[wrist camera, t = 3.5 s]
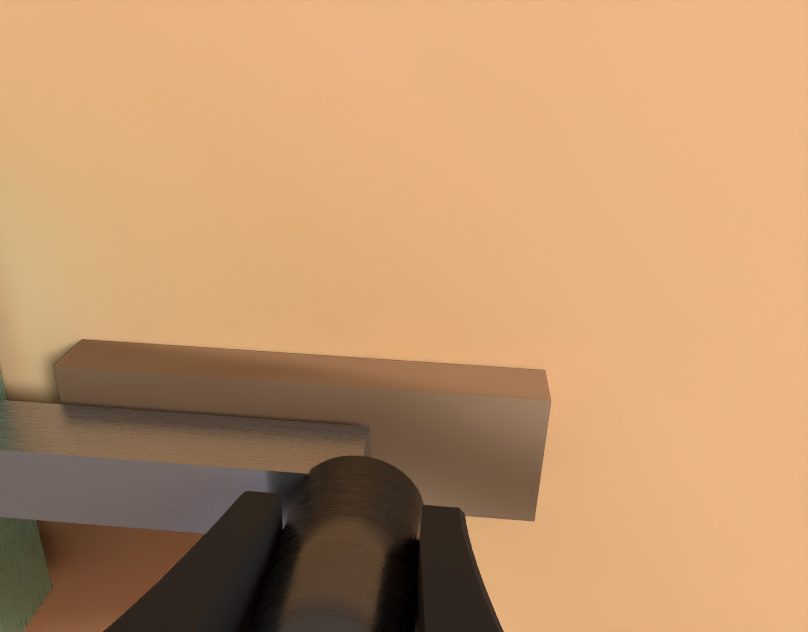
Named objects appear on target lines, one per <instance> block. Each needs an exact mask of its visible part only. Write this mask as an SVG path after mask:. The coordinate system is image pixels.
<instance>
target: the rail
mask: <svg viewBox="0 0 808 632" xmlns="http://www.w3.org/2000/svg"><path fill="white" fill-rule="evenodd" d="M53 367H54V372H55V377H56V382H57V387H58V391H59V396H60V401H61V404H65V405H79V406H92V407H106V408H120V409H134V410H148V411H161V412H175V413H189V414H203V415H216V416H230V417H244V418H258V419H272V420H285V421H299V422H313V423H327V424H340V425H354V426H368V427H370V449H369V457H371V458H375V459H379V460H382V461H384V462H387V463H389V464H391V465H393V466H394V467H396V468H398V469H399V470H401V471H402V472H403V473H404V474H406V475H407V476H408V477H409V478H410V479H411V480H412V481H413V483H414V484H415V485H416V487H417V488H418V490H419V492H420V494H421V497H422V500H423V504H424V505H433V506H446V507H459V508H460V509H461V510H462V511H463V512H464V513H465V516H473V517H486V518H498V519H511V520H523V521H534V520H535V513H536V505H537V498H538V491H539V484H540V477H541V470H542V463H543V456H544V449H545V441H546V434H547V427H548V420H549V413H550V406H551V397H550V392H549V387H548V382H547V377H546V372H545V370H533V369H518V368H503V367H488V366H473V365H458V364H443V363H428V362H413V361H398V360H383V359H368V358H353V357H338V356H323V355H308V354H293V353H278V352H263V351H248V350H233V349H218V348H203V347H188V346H173V345H158V344H143V343H128V342H114V341H99V340H84V339H82V340H81V341H80V342H79V343H78V344H77V345H76V346H75V347H74V348H73V349H71V350H70V351H69V352H68V353H67V354H66V355H65V356H64V357H63V358H62V359H61V360H60V361H58V362H57V363H56V364H55V365H54V366H53Z"/></svg>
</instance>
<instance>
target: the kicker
mask: <svg viewBox="0 0 808 632" xmlns="http://www.w3.org/2000/svg"><path fill="white" fill-rule="evenodd" d="M369 449H370V427H368V426H354V425H340V424H327V423H313V422H299V421H285V420H272V419H258V418H244V417H230V416H216V415H203V414H189V413H175V412H161V411H148V410H134V409H120V408H106V407H92V406H79V405H65V404H51V403H37V402H24V401H10V400H7V398H6V394H5V390H4V386H3V382H2V378H1V374H0V632H23V631H24V629H25V628H26V626H27V625H28V623H29V622H30V620H31V619H32V618H33V616H34V615H35V613H36V612H37V610H38V609H39V607H40V606H41V604H42V603H43V602H44V600H45V599H46V597H47V596H48V594H49V593H50V591H51V590H52V584H51V579H50V575H49V571H48V567H47V563H46V559H45V555H44V551H43V546H42V542H41V538H40V534H39V530H38V526H37V522H36V520H42V521H54V522H66V523H78V524H90V525H102V526H114V527H126V528H138V529H151V530H163V531H175V532H187V533H199V534H206V533H207V532H208V531H209V529H210V528H211V527H212V526H213V525H214V524H215V523H216V522H217V521H218V520H219V519H220V517H221V516H222V515H223V514H224V513H225V512H226V511H227V510H228V509H229V507H230V506H231V505H232V504H233V503H234V502H235V501H236V500H237V498H238V497H239V496H240V495H241V494H243V493H244V492H245V491H256V492H269V493H281V504H282V522H283V531H282V534H281V537H280V540H279V543H278V546H277V549H276V552H275V555H274V558H273V561H272V564H271V566H270V569H269V572H268V575H267V578H266V581H265V584H264V587H263V590H262V593H261V596H260V599H259V602H258V605H257V608H256V611H255V614H254V617H253V620H252V623H251V626H250V629H249V631H248V632H415V626H416V613H417V578H418V559H419V540H420V527H421V517H422V508H423V505H424V504H423V500H422V497H421V494H420V492H419V490H418V488H417V487H416V485H415V484H414V483H413V481H412V480H411V479H410V478H409V477H408V476H407V475H406V474H404V473H403V472H402V471H401V470H399V469H398V468H396V467H394V466H393V465H391V464H389V463H387V462H384V461H382V460H379V459H375V458H371V457H369Z"/></svg>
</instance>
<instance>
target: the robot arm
mask: <svg viewBox="0 0 808 632" xmlns="http://www.w3.org/2000/svg"><path fill="white" fill-rule="evenodd" d="M282 531H283V522H282V504H281V493H269V492H256V491H245V492H244V493H243V494H241V495H240V496H239V497H238V498H237V500H236V501H235V502H234V503H233V504H232V505H231V506H230V507H229V509H228V510H227V511H226V512H225V513H224V514H223V515H222V516H221V517H220V519H219V520H218V521H217V522H216V523H215V524H214V525H213V526H212V527H211V528H210V529H209V531H208V532H207V533H206V534H205V535H204V536H203V537H202V538H201V539H200V540H199V541H198V542H197V543H196V544H195V545H194V547H193V548H192V549H191V550H190V551H189V552H188V553H187V554H186V555H185V556H184V557H183V558H182V559H181V560H180V561H179V562H178V563H177V564H176V565H175V566H174V567H173V568H172V569H171V570H170V571H169V572H168V573H167V574H166V575H165V576H164V577H163V578H162V579H161V580H160V581H159V582H158V583H157V584H156V585H154V586H153V587H152V588H151V589H150V590H149V591H148V592H147V593H146V594H145V595H144V596H143V597H141V598H140V599H139V600H138V601H137V602H136V603H135V604H134V605H133V606H132V607H131V608H129V609H128V610H127V611H126V612H125V613H124V614H123V615H122V616H121V617H120V618H118V619H117V620H116V621H115V622H114V623H113V624H111V625H110V626H109V627H108V628H107V629H106V630H104V631H103V632H248V631H249V629H250V626H251V623H252V620H253V617H254V614H255V611H256V608H257V605H258V602H259V599H260V596H261V593H262V590H263V587H264V584H265V581H266V578H267V575H268V572H269V569H270V566H271V564H272V561H273V558H274V555H275V552H276V549H277V546H278V543H279V540H280V537H281V534H282ZM415 632H504V631H503V629H502V627H501V625H500V622H499V620H498V618H497V616H496V613H495V611H494V608H493V606H492V603H491V601H490V598H489V596H488V593H487V591H486V588H485V586H484V583H483V580H482V578H481V575H480V572H479V569H478V566H477V563H476V560H475V556H474V553H473V550H472V546H471V543H470V539H469V535H468V530H467V525H466V519H465V513H464V512H463V511H462V510H461V509H460V508H459V507H446V506H433V505H423V508H422V517H421V527H420V540H419V559H418V578H417V613H416V626H415Z"/></svg>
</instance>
